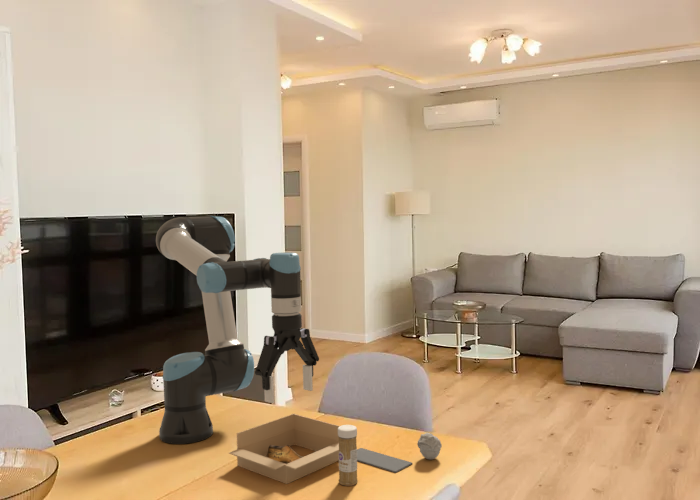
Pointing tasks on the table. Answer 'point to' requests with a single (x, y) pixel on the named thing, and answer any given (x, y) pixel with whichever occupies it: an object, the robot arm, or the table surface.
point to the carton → (288, 433)
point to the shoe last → (282, 454)
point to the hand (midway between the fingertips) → (289, 395)
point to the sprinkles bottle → (347, 455)
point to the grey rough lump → (429, 445)
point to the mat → (381, 460)
